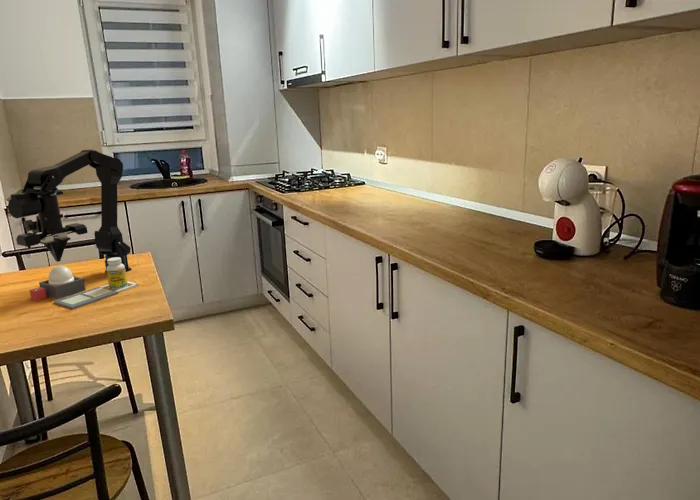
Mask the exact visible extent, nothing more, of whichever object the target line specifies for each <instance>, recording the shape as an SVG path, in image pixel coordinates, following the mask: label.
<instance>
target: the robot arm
mask: <svg viewBox="0 0 700 500" xmlns="http://www.w3.org/2000/svg"><path fill="white" fill-rule="evenodd" d="M87 166H89V167H90V168H92V169H95V174H96V177H97V178H98V181H99V182H100V183H101V184H100V185H101V186H100V187H101V191H100V192H101V193H100V195H101V197H100V199H101V201H100V202H101V203H100V204H101V206H100V209H101V214H100V215H101V216H100V217H101V218H100V219H101V220H100V221H101V226H100V228H99V229H98V230H95V231H94V233H93V234H94V241H93V243H94V244H95V247H96V248H97V250H98V251H99V252H100V254H101V256H102V255H103V256H104V258H105V260H104V264H105V270H104V272H105V273H107V270H106V268H107V266H108V265H109V264H108V263H107V260H108V259H109V258H114V257H120V258H121V261H122V262H121V263H122V264H123V265H124V266H125V272H128V271H130V270H131V271H132V267H129V261H128V255H129V254H130V253H131V247H130V246H129V245H128V244H127V243H126V242H124V238H123V234H122V233H123V232H121V230H120V229H119V227H118V184H119V182H120V180H121V179H122V177H123V173H124V172H123V171H124V163H123V162H122V160H121V159H119V158H118V157H114V156H110V155H107V154H105V153H101V152H99V151H97V150H95V149H81V151H79V152H78V153H76V154H73V155H72V156H70V157H68V158H65V159H64V160H61V161H60V162H57V163H55V164H54V165H49V166H43V167H39V168H36V169H31V170H30V171H29V172H28V174H27V179H26V181H25V184H24V186H23V188H22V190H21V193H12V194H10V199H9V201H8V203H7V204H8V205H7V210H8V212H9V215H10V216H11V217H12V218H15V219H21V218H26V217H27V218H28V217H31V216H34V215H36V217H35V219H36V220H35V221H33V219H28V220H24V221H23V227H24V229H25V232H27V233H22V234H18V235H17V236H16V245H17V246H23V247H32V246H36V245H39V244H42V245H44V246H45V247H46V249H47V250H48V251H49V253H50V255H51V256H52V257H53V259H54V260H55V262H56V263H57V262H59V263H60V262H61V260H62V257H63V254H64V250H65V249H66V248H65V247H66V246H67V243H68V242H69V241H71V237H69V236H68V235H70V234H73V233H75V234H77V235H78V236H81V235H85V234H87V233H88V228H87V225H85V224H84V223H78V222H75V223H70V224H66V225H65V226H63V223H62V218H64V215H63V213H61V211H60V205H59V200H58V196H60V195H64V192H63V190H60V189H59V188H57V187H58V186H59V185H61V184H62V183H63V181H64V179H65V178H66V177H68V176H70V175H72V174H73V173H75V172H77V171H80V170H82V169H84V167H87Z"/></svg>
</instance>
